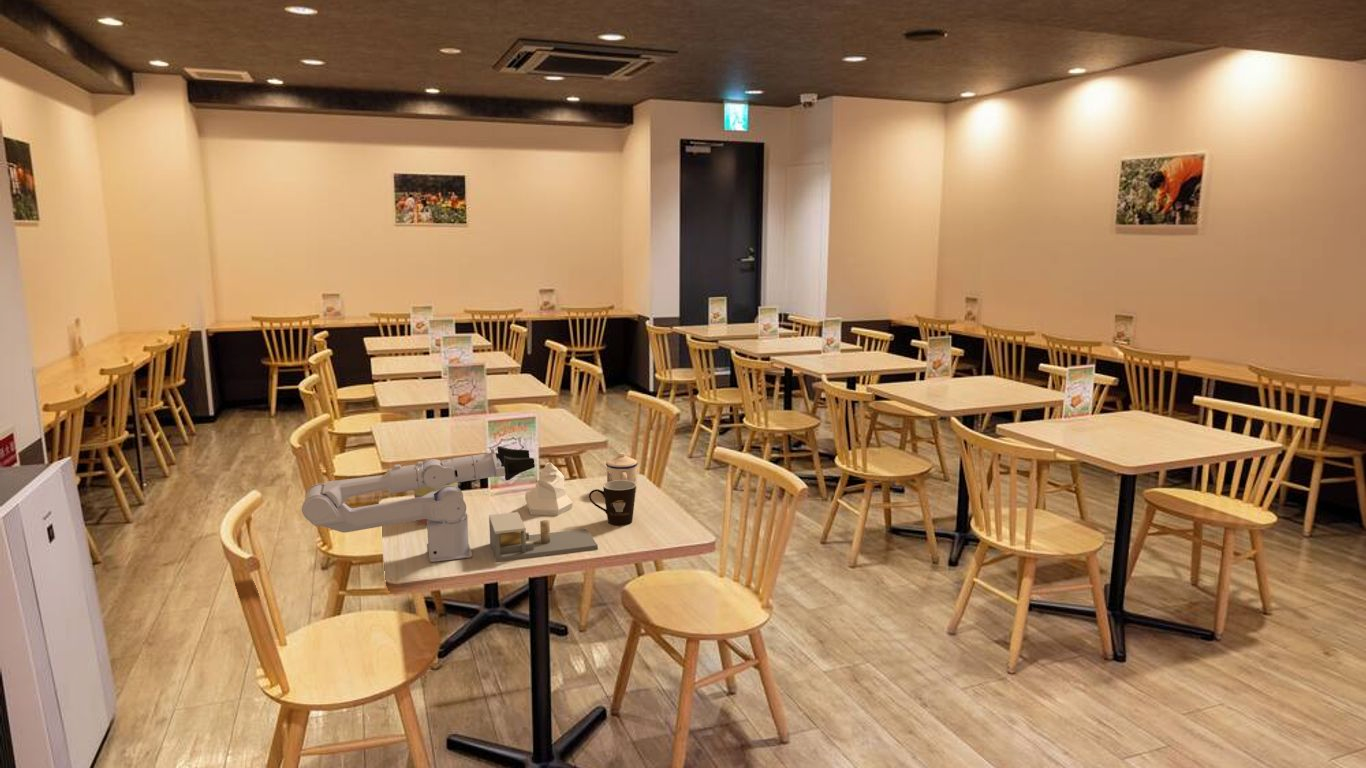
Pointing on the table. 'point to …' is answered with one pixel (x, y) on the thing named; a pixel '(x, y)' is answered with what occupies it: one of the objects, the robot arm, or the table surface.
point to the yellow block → (515, 537)
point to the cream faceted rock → (548, 493)
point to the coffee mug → (618, 501)
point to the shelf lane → (534, 539)
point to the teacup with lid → (622, 468)
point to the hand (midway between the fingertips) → (531, 458)
